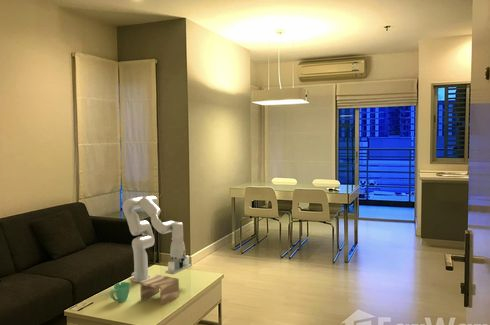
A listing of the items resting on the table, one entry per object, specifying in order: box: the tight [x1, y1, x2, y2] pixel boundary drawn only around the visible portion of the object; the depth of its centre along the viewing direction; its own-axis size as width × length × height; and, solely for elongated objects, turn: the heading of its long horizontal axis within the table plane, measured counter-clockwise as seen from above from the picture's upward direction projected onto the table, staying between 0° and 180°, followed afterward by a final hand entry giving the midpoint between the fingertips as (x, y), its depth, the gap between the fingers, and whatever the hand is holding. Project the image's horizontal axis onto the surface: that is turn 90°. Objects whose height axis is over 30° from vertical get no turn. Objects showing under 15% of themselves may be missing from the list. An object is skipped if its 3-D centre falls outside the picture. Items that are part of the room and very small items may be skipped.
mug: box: [109, 281, 131, 302], centre depth 255 cm, size 15×10×10 cm
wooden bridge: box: [139, 274, 180, 306], centre depth 260 cm, size 18×16×12 cm
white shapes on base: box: [164, 254, 193, 276], centre depth 276 cm, size 7×20×8 cm, turn 151°
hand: (178, 266), depth 276 cm, fingers closed on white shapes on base, 4 cm apart
